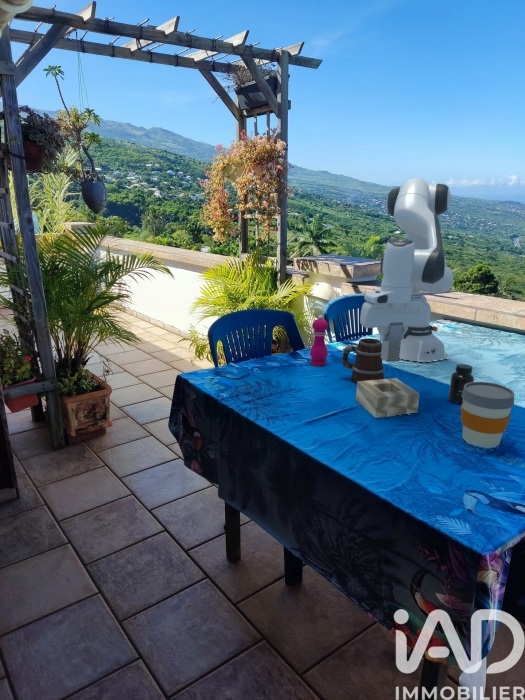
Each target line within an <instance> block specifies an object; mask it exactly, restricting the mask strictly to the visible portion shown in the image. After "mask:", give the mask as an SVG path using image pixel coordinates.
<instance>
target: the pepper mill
mask: <svg viewBox="0 0 525 700" xmlns="http://www.w3.org/2000/svg"><path fill="white" fill-rule="evenodd" d="M311 325H312V326H311V327H312V329H313V336H314V339H313V343H312V345H311V348H310V350H309V356H310V357H311V359H310V365H312V366H314V367H324V366H326V365H327V359H326V358H327V357H328V355H329V352H328V348H327V345H326V343H325V337H326V335H327V329H328V328H329V327H328V326H329V324H328V321H326V320H325V318H323V315H322V314H319V315H318V316H317V319H315V320H313V322H312V324H311Z"/></svg>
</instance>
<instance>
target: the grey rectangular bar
mask: <svg viewBox="0 0 525 700" xmlns="http://www.w3.org/2000/svg"><path fill="white" fill-rule="evenodd" d="M402 325H403V322H402V323H390V325H389V326H390V327H385V330H384V331H383V332H384V334H385V335H387V341H381V343H382V350H381V358H382V361H385V362H387V363H390V362H393V363H394V362H400V359H399V356H400V345H401V335H402Z"/></svg>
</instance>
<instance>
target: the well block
mask: <svg viewBox="0 0 525 700" xmlns="http://www.w3.org/2000/svg"><path fill="white" fill-rule="evenodd" d="M355 401H357V403H358V404H360V405H361V406H362V407H363V408H364V409H365V410H366V411H368V412H369V413H370V415H372V416H373V417H374V418H375V419H376V418H378V419H379V418H388V417H396V415H399V416H403V415H402V414H408V415H411V414H410V413H417V414H418V410H419V401H420V393H419V392H418V391H416V390H414V389H413V388H412V387H410V386H409V385H407V384H406V383H405V382H402V381H401V380H399V379H398V378H397V377H395V378H394V377H393V378H384V379H380V380H368V381H357V384H356V394H355Z"/></svg>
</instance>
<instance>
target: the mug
mask: <svg viewBox="0 0 525 700" xmlns="http://www.w3.org/2000/svg"><path fill="white" fill-rule="evenodd" d="M357 344H358V345H355V346H354V345H353V344H349V345H347V346H345V347H344V349H343V350H342V351H343V353H342V359H340V362H341V365H342V366H343V367H344V368H345V369H346V370H348V369H351V371H352V372H351V375H350V376H351V377H350V380H351V381H352V383H355V384H356V385H357V381H368V380H380V379H385V373H384V372H385V366H383V359H382V358H381V350H382V341H380V339H376V338H366V337H365V338H360V339H359V341H358V343H357ZM353 352H354V354H355V355H356V356H355V361H354V362H353V363H352V362H350V361H349V358H348V357H349V354H350V353H353Z"/></svg>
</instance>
